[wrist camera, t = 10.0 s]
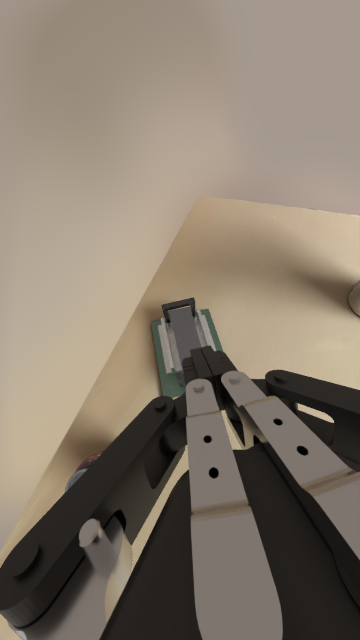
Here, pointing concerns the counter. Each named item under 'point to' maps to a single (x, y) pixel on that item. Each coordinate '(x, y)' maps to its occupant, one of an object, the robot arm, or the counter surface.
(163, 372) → the heatsink
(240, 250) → the counter surface
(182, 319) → the retention strap
